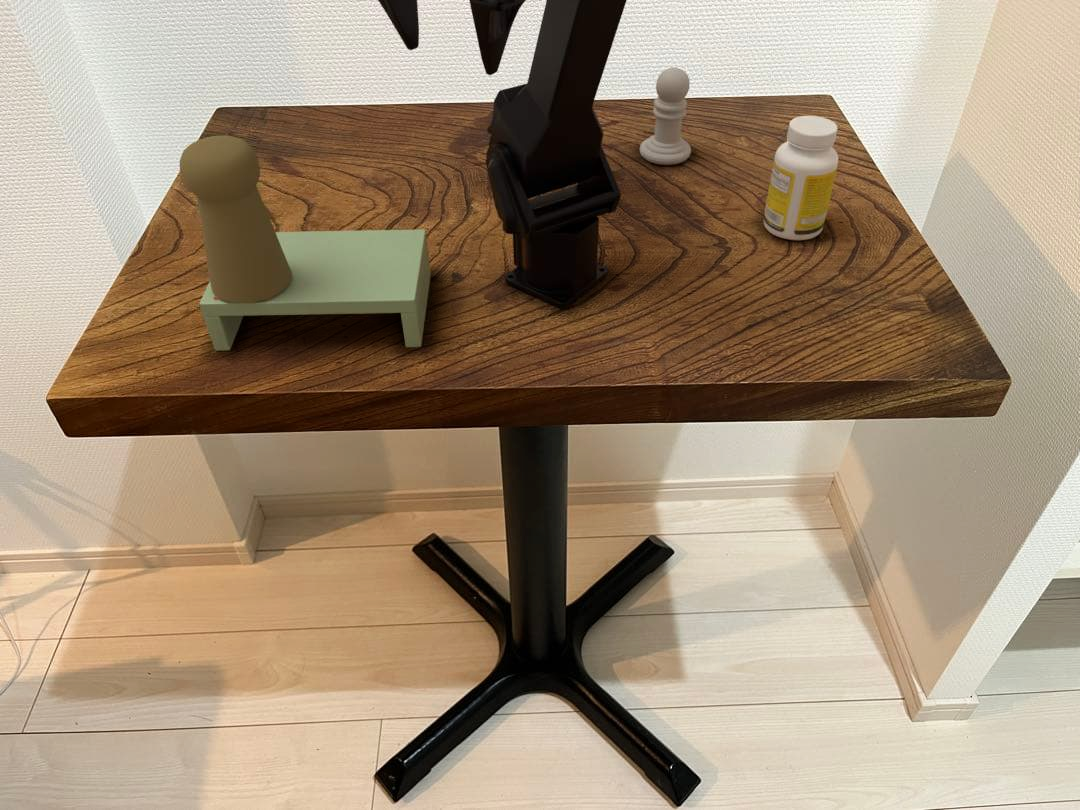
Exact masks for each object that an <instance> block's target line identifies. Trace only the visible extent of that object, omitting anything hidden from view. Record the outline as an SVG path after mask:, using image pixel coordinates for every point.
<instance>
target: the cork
mask: <svg viewBox="0 0 1080 810" xmlns="http://www.w3.org/2000/svg"><path fill="white" fill-rule="evenodd" d="M260 165H261V164H260V161H259V158H258V155H257V154H256V151H255V150H254V148H253V147H252V146H251V145H250V144H249V143H248V142H247V141H246V140H244V139H243V138H239V137H236V136H232V135H225V134H223V135H212V136H207V137H204V138H200V139H197V140H196V141H193V142H191V143H190V144H189V145H187V146H186V147H185V148H184V149H183V150H182V153H181V156H180V158H179V172H180V175H181V178H182V180H183V183H184V185H185V186H186V188H187V190H188V191H189V192H191V194H192V195H194V196H195V197H196V201H197V209H198V214H199V220H200V221H199V222H200V226H201V233H202V239H203V245H204V253H205V259H206V265H207V270H208V278H209V282H210V284H211V289H212V292H213V294H215V295H216V296H217V297H218V298H219V299H222V300H224V301H227V302H232V303H253V302H257V301H261V300H265V299H268V298H270V297H272V296H274V295H277V294H278V293H280V292H281V291H282V290H284V289H285V288H286V287H287V286H288V284H289V283H290V282H291V279H292V272H291V269H290V267H289V264H288V262H287V260H286V257H285V255H284V252H283V250H282V247H281V245H280V242H279V240H278V238H277V235H276V233H275V232H276V231H275V228H274V225H273V223H272V220H271V218H270V215H269V212H268V211H267V209H266V206H265V204H264V201H263V199H262V196H261V193H260V191H259V188H258V186H257V185H258V183H259V181H260V177H261V166H260Z"/></svg>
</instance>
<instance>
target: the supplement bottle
mask: <svg viewBox="0 0 1080 810" xmlns="http://www.w3.org/2000/svg"><path fill="white" fill-rule="evenodd" d="M838 129H839V128H838V125H837V123H836V122H834V121H833V120H832V119H829V118H826V117H823V116H818V115H801V116H800V115H799V116H797V117H795V118H792V119H791V120H790V121H789V124H788V128H787V133H786V141H785V142H784V143H781V144H780V145H779V146H778V148H777V149H776V152H775V156H774V159H773V165H772V169H771V170H772V171H771V176H770V181H769V186H768V192H767V197H766V202H765V208H764V215H763V226H764V227H765V229H766V231H768V232H769V233H770V234H771V235H773V236H776V237H778V238H780V239H783V240H784V239H785V240H789V241H807V240H811V239H814V238H816V237H817V236H818V235H820V234H821V232H822V231H823V228H824V225H825V221H826V218H827V213H828V209H829V205H830V201H831V197H832V192H833V187H834V184H835V179H836V174H837V170H838V165H839V154H838V152H837V150H836V149H835V148H834V147H833V146H834V144H835V142H836V139H837V135H838Z"/></svg>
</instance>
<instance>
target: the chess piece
mask: <svg viewBox="0 0 1080 810" xmlns="http://www.w3.org/2000/svg"><path fill="white" fill-rule="evenodd" d="M655 90H656V94H657V97H656V98H655V99H654V101H653V106H654V108H653V110H652V113H653V116H654V117H655V123H654V124H655V126H654V134H653V135H651V136H650V137H648V138H646V139H645V140H644V141H642V142H641V143H640V146H639V154H640V156H641V157H642V158H643V159H644V160H646V161H648V162H649V163H652V164H655V165H661V166H672V165H678V164H681V163H683V162H685V161H686V160H688V159H689V157H690V156H691V153H692V148H691V145H690V144H689V143H688V142H687V141H686V140H685V139H684V138H683V137H682V136H681V135H682V127H683V126H682V125H683V118H685V117H686V115H687V109H686V108H687V107H688V101H687V99H686V97H687V95H688V93H689V90H690V78H689V74H688V73H687V72H686V71H684V70H683V69H681V68H679V67H668V68H666V69H664V70H662V71H661V73H660V74H659V75H658V77H657V79H656V84H655Z"/></svg>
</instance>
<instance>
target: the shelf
mask: <svg viewBox="0 0 1080 810" xmlns="http://www.w3.org/2000/svg"><path fill="white" fill-rule="evenodd" d="M275 233H276V235H277V238H278V240H279V242H280V245H281V247H282V250H283V252H284V255H285V257H286V260H287V262H288V264H289V267H290V269H291V272H292V279H291V282H290V283H289V284H288V286H287V287H286V288H285V289H284V290H282V291H281V292H280V293H278V294H277V295H274V296H272V297H270V298H268V299H265V300H261V301H257V302H253V303H232V302H227V301H224V300H222V299H219V298H218V297H217V296H216V295H215V294H213V292H212V289H211V284H210V281H209V282H208V284H207V286H206V289H205V291H204V293H203V295H202V297H201V299H200V301H199V307H200V311H201V313H202V316H203V320H204V322H205V325H206V327H207V331H208V334H209V337H210V340H211V342H212V345H213V348H214V351H217V352H219V351H231V349H232V347H233V344H234V341H235V339H236V337H237V334H238V332H239V329H240V326H241V323H242V321H243V318H244V317H246V316H249V317H250V316H289V315H290V316H298V315H299V316H300V315H301V316H303V315H307V316H308V315H349V314H350V315H352V314H353V315H354V314H355V315H357V314H358V315H359V314H400V317H401V324H402V330H403V337H404V344H405V348H421V347H422V343H423V334H424V326H425V320H426V315H427V314H426V312H427V306H428V298H429V292H430V291H429V289H430V283H431V277H432V272H431V265H430V253H429V246H428V239H427V230H426V229H425V228H423V229H422V228H421V229H372V230H371V229H368V230H365V229H363V230H318V231H317V230H315V231H307V230H306V231H275Z"/></svg>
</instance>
